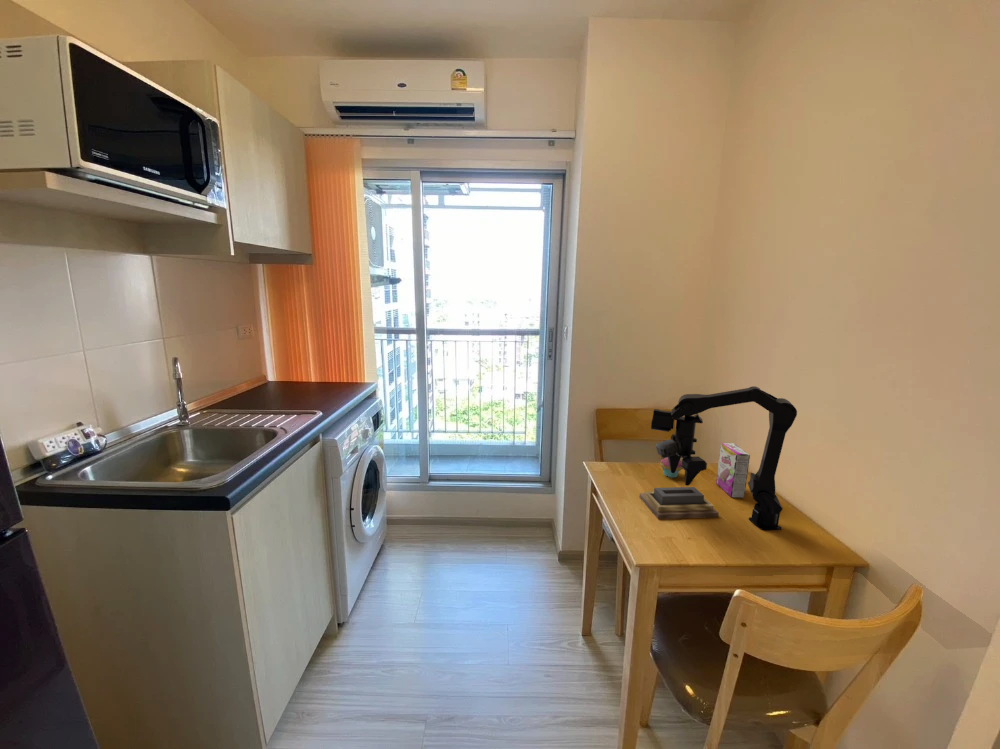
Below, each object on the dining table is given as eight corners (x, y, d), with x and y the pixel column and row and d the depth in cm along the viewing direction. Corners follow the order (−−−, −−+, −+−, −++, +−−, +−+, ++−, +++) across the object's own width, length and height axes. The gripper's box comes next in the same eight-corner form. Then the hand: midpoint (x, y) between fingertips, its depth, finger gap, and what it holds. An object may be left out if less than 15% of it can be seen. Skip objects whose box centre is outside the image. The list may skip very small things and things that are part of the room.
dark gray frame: (692, 497, 141) (694, 486, 140) (702, 506, 135) (704, 495, 134) (653, 498, 139) (654, 487, 139) (661, 507, 134) (662, 496, 133)
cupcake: (654, 472, 164) (657, 443, 162) (671, 469, 167) (674, 441, 165) (670, 481, 156) (673, 451, 154) (687, 478, 159) (690, 448, 157)
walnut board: (694, 495, 145) (695, 488, 144) (718, 517, 131) (719, 508, 131) (639, 497, 143) (640, 489, 143) (657, 518, 130) (658, 510, 129)
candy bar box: (714, 483, 155) (720, 442, 152) (728, 484, 155) (733, 442, 152) (730, 498, 144) (736, 454, 141) (745, 498, 144) (751, 454, 141)
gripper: (647, 424, 141) (643, 467, 144) (675, 444, 123) (669, 493, 126) (679, 424, 142) (674, 466, 145) (710, 444, 124) (704, 492, 127)
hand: (679, 478), depth 136 cm, fingers open, 9 cm apart
